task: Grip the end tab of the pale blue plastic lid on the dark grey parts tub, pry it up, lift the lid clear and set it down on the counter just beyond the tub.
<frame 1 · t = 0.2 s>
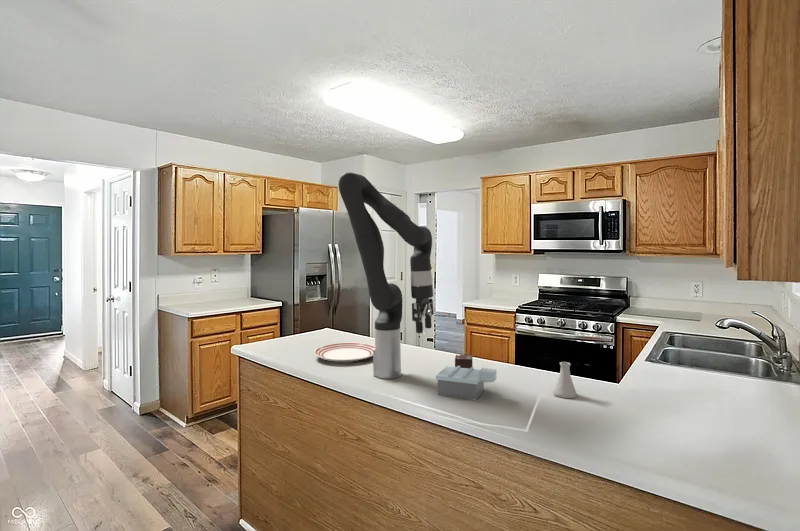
hand: (424, 330, 150), 17 cm above the countertop, tool pointing down, fingers open, 8 cm apart
dinner plate: (346, 357, 184), on the countertop
brass block b: (469, 393, 135), point 1 cm above the countertop, touching tub
tub: (461, 393, 137), on the countertop
brass block a: (453, 390, 138), point 1 cm above the countertop, touching tub
flask: (565, 395, 134), on the countertop
lid: (461, 376, 136), point 5 cm above the countertop, touching tub
box: (464, 377, 154), on the countertop
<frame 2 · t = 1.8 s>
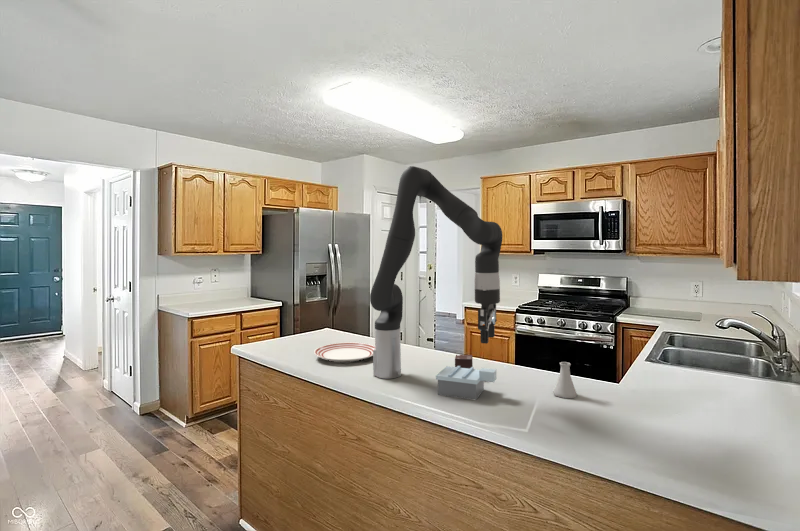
hand: (487, 340, 132), 18 cm above the countertop, tool pointing down, fingers open, 8 cm apart
nothing on the countertop moved.
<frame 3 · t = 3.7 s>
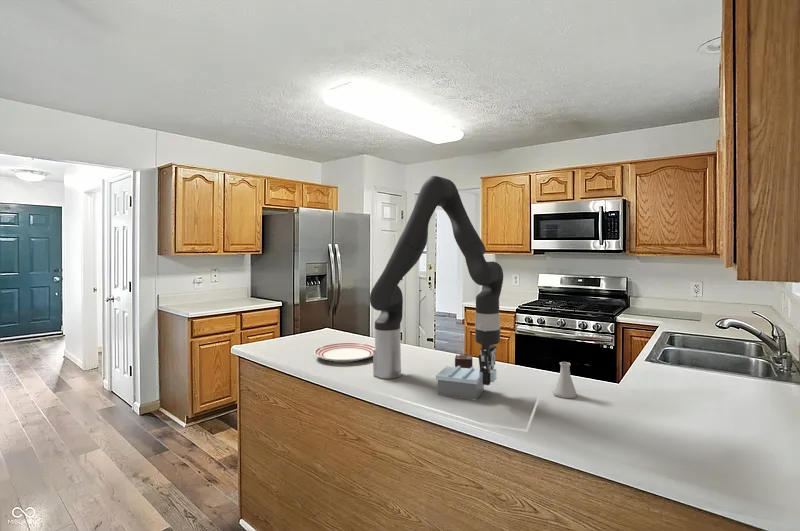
hand: (487, 382, 133), 5 cm above the countertop, tool pointing down, fingers closed on lid, 3 cm apart
lid: (461, 376, 136), point 6 cm above the countertop, touching gripper, tub
everything else where it was.
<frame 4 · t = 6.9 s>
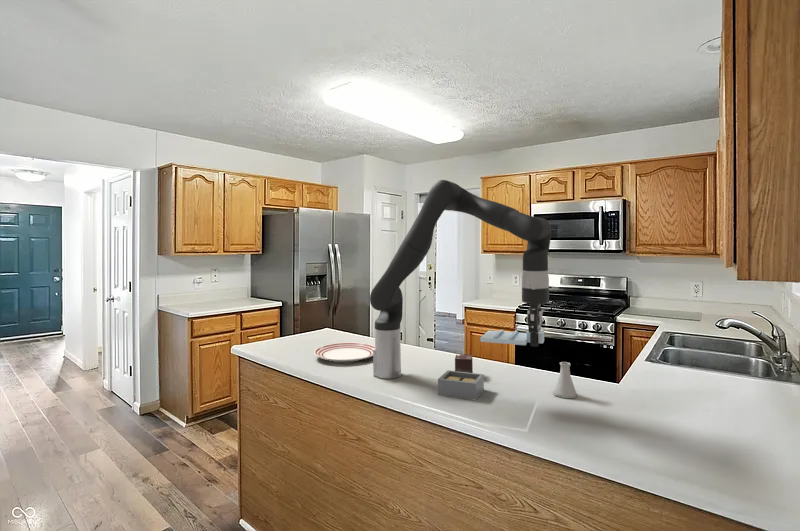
hand: (535, 344, 126), 18 cm above the countertop, tool pointing down, fingers closed on lid, 3 cm apart
lid: (505, 339, 130), point 18 cm above the countertop, touching gripper
everything else where it was.
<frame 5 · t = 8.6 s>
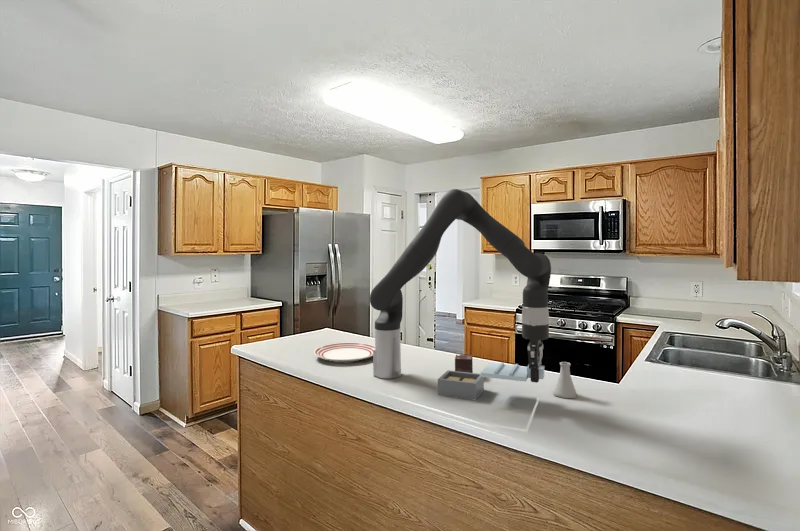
hand: (535, 379, 127), 7 cm above the countertop, tool pointing down, fingers closed on lid, 3 cm apart
lid: (506, 373, 130), point 8 cm above the countertop, touching gripper
everything else where it was.
when the fingers open (1 cm above the countertop, at t = 10.1 s): lid drops 2 cm, on the countertop.
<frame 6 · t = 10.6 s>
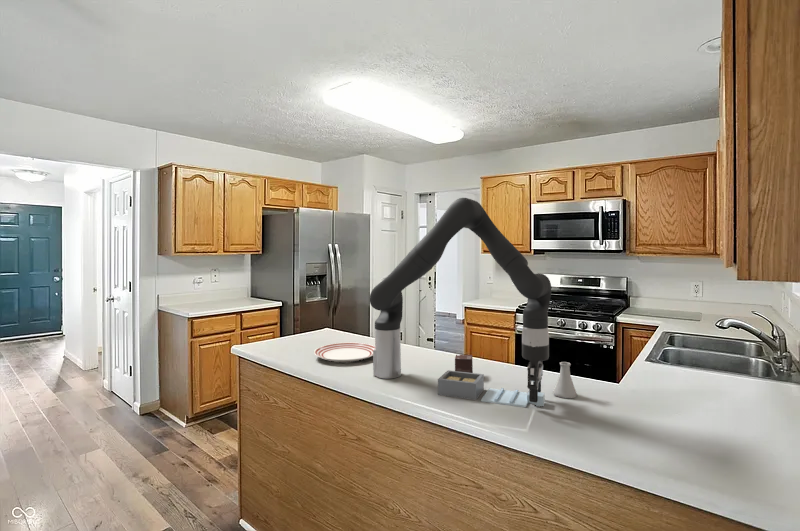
hand: (535, 396, 127), 2 cm above the countertop, tool pointing down, fingers open, 8 cm apart
lid: (506, 400, 131), on the countertop
everything else where it was.
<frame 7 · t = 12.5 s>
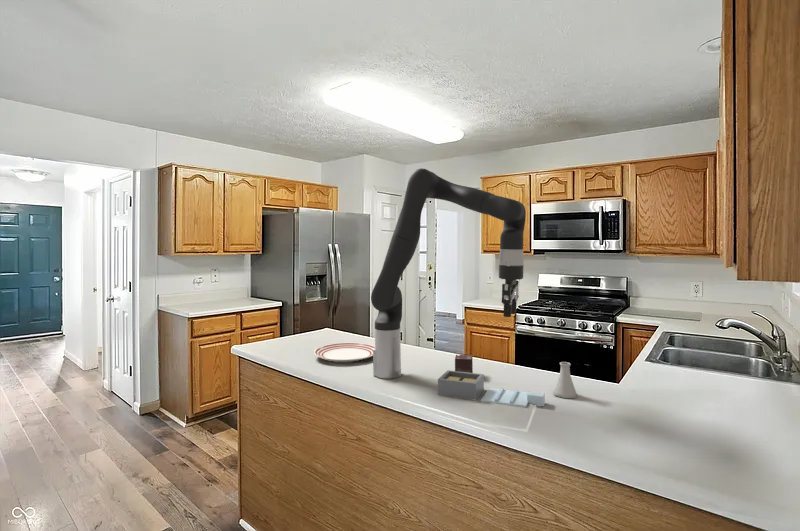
hand: (510, 314, 137), 25 cm above the countertop, tool pointing down, fingers open, 8 cm apart
nothing on the countertop moved.
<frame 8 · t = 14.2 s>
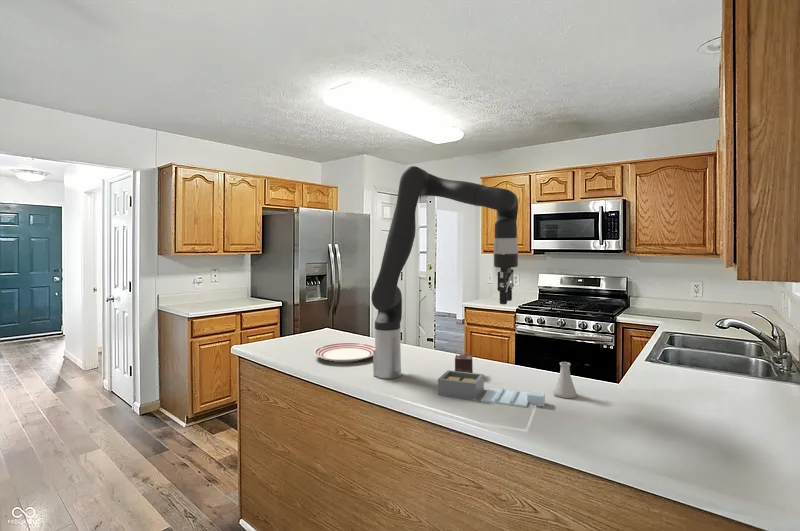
hand: (505, 302, 140), 28 cm above the countertop, tool pointing down, fingers open, 8 cm apart
nothing on the countertop moved.
at the end: lid inside the target area (0.8 cm from its centre), on the countertop; lid touching countertop; the gripper is holding nothing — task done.
